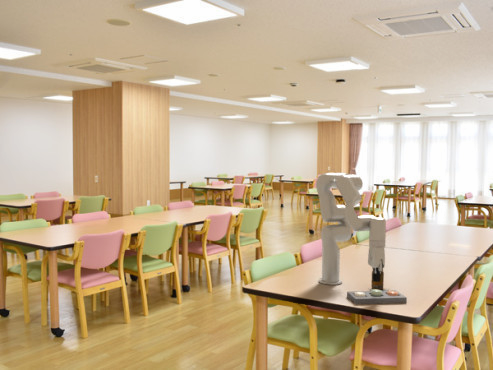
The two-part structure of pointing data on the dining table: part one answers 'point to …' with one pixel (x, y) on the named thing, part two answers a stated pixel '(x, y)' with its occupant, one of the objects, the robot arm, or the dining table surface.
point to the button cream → (359, 294)
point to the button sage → (376, 292)
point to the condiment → (378, 283)
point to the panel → (376, 298)
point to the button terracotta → (392, 293)
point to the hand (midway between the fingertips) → (376, 281)
